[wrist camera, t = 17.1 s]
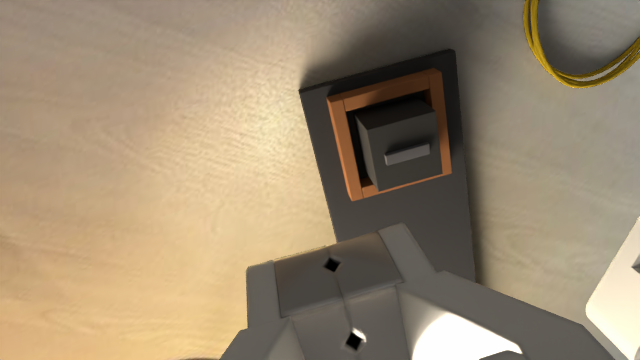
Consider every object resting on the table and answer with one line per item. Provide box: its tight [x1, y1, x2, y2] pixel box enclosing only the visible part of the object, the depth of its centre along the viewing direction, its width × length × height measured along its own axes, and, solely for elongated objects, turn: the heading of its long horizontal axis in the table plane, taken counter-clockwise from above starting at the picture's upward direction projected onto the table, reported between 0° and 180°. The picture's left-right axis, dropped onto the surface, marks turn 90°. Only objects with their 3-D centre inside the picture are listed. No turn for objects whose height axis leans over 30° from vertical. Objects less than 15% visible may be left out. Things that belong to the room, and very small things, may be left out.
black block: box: [353, 96, 443, 192], centre depth 35 cm, size 5×5×4 cm
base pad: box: [299, 49, 476, 283], centre depth 41 cm, size 32×12×2 cm, turn 13°
